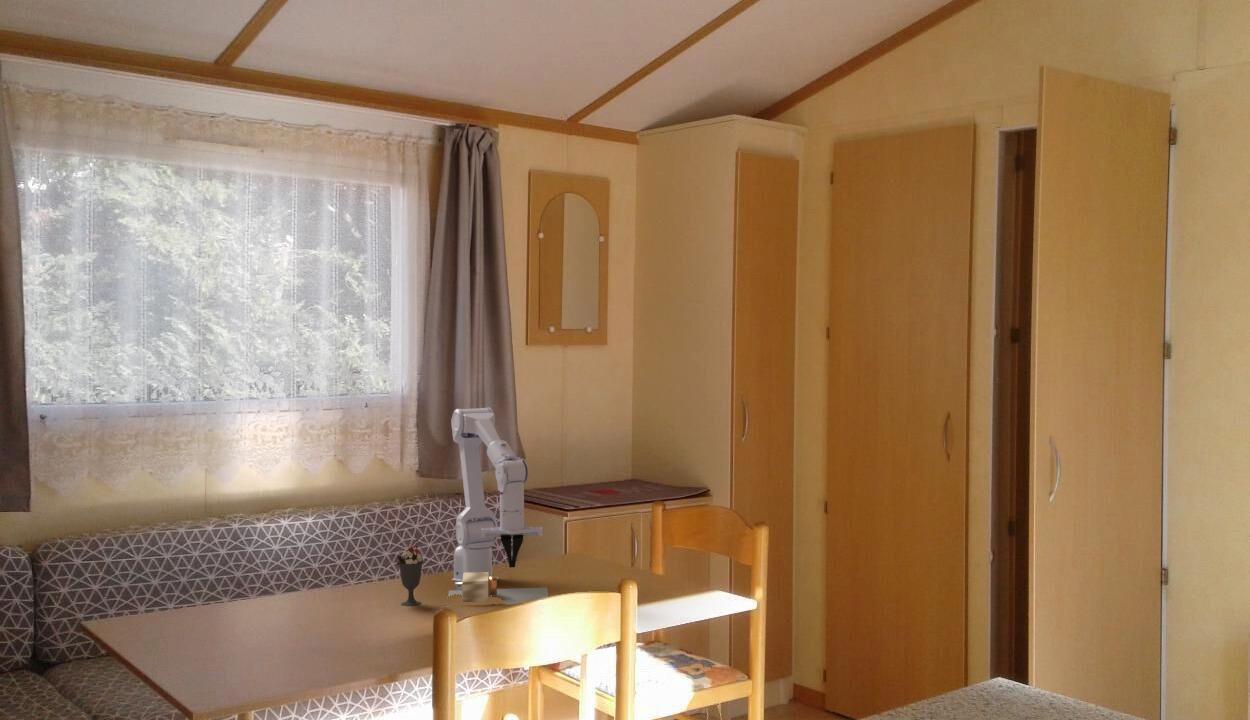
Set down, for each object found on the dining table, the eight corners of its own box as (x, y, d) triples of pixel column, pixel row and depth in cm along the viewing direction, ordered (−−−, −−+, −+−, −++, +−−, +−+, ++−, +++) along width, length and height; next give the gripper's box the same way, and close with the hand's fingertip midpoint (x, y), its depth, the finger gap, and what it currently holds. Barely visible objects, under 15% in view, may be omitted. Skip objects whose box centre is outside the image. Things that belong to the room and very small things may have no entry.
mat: (446, 607, 261) (446, 606, 261) (449, 591, 277) (449, 590, 277) (549, 604, 263) (549, 603, 263) (547, 588, 279) (547, 587, 279)
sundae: (428, 601, 267) (428, 538, 266) (420, 608, 260) (420, 543, 260) (401, 600, 267) (401, 537, 267) (393, 607, 261) (392, 543, 260)
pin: (454, 597, 266) (454, 579, 266) (455, 593, 271) (454, 575, 271) (496, 596, 268) (496, 578, 267) (496, 592, 272) (496, 574, 272)
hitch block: (462, 603, 264) (462, 581, 264) (463, 593, 274) (463, 572, 274) (488, 602, 265) (488, 581, 264) (488, 592, 275) (488, 571, 274)
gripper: (481, 513, 265) (481, 570, 265) (542, 512, 266) (543, 569, 267) (481, 508, 272) (481, 564, 272) (541, 507, 273) (541, 563, 274)
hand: (512, 566), depth 270 cm, fingers closed
